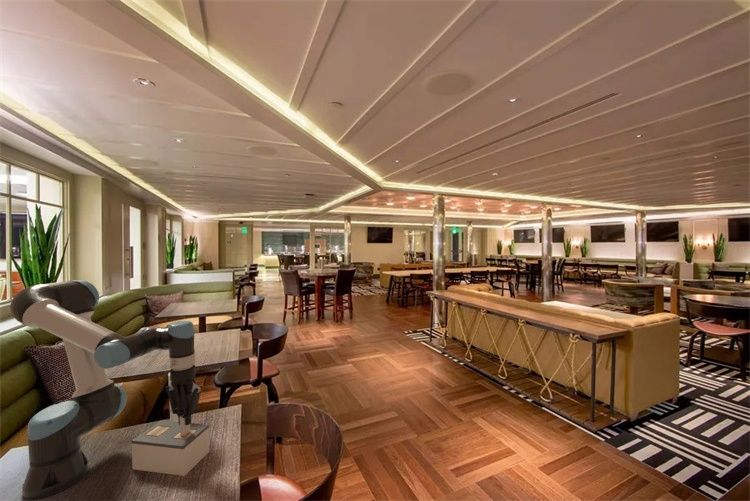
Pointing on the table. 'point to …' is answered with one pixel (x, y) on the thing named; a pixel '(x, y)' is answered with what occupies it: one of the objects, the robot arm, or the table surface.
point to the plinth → (170, 449)
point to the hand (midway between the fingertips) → (185, 433)
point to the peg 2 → (185, 435)
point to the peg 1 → (157, 431)
